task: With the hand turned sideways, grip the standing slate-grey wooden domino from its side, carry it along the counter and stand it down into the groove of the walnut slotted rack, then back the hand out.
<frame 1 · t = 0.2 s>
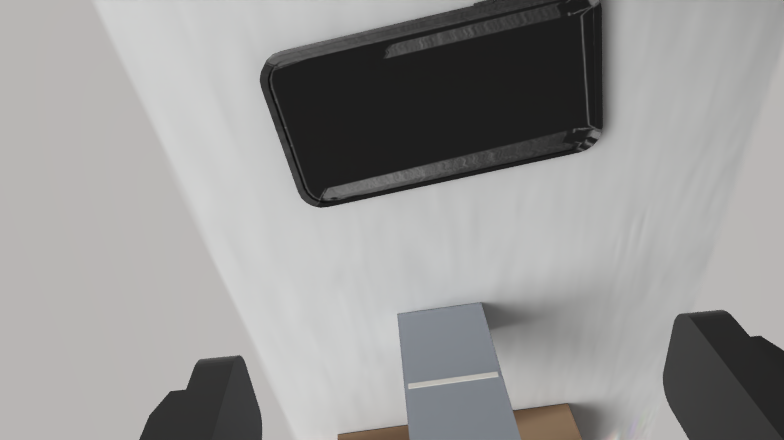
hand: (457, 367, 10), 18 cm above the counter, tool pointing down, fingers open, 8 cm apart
phone: (434, 96, 27), on the counter
domino: (440, 323, 34), on the counter
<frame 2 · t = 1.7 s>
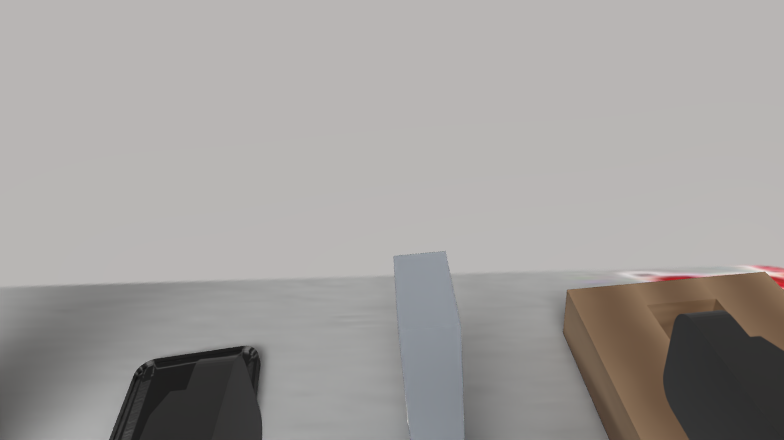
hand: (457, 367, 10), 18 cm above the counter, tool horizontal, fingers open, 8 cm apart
rack: (725, 428, 29), on the counter
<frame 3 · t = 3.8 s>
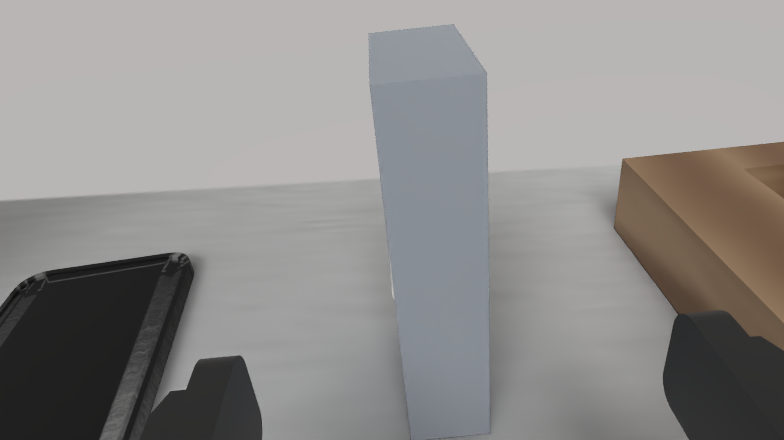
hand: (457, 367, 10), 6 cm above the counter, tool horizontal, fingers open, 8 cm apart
phone: (57, 404, 20), on the counter
domino: (440, 375, 19), on the counter
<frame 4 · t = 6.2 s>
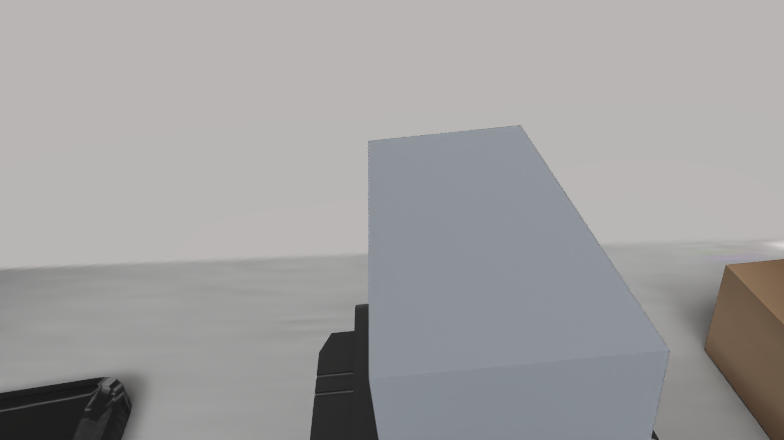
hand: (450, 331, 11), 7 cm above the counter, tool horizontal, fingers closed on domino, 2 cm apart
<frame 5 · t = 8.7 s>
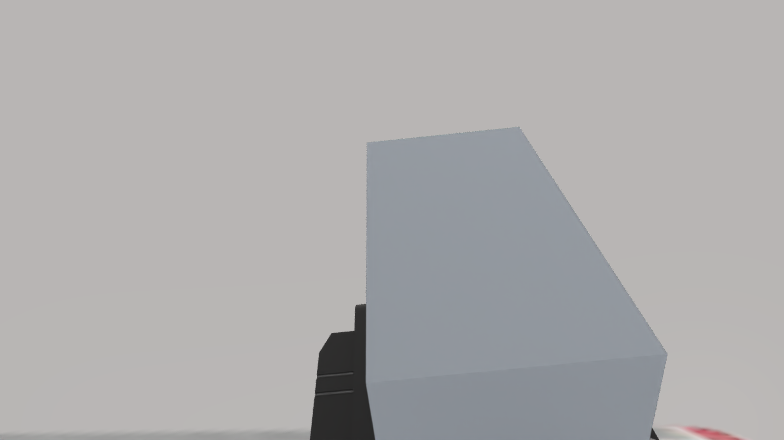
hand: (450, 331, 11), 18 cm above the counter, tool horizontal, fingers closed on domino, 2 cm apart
when the fingers open (10 cm above the counter, at t = 11.7 s): domino drops 3 cm, resting in rack.
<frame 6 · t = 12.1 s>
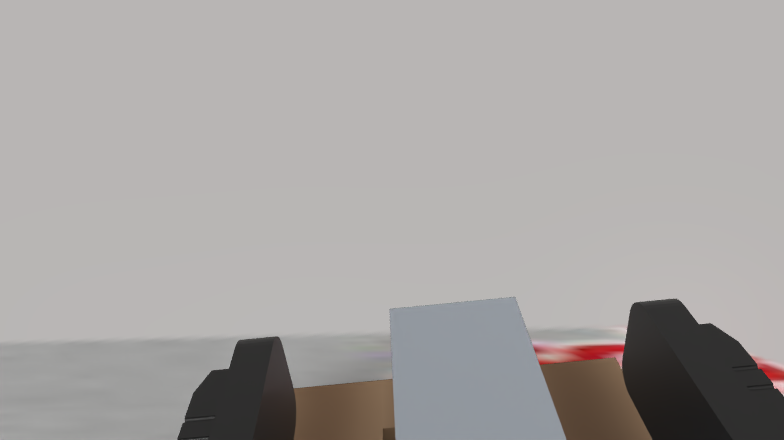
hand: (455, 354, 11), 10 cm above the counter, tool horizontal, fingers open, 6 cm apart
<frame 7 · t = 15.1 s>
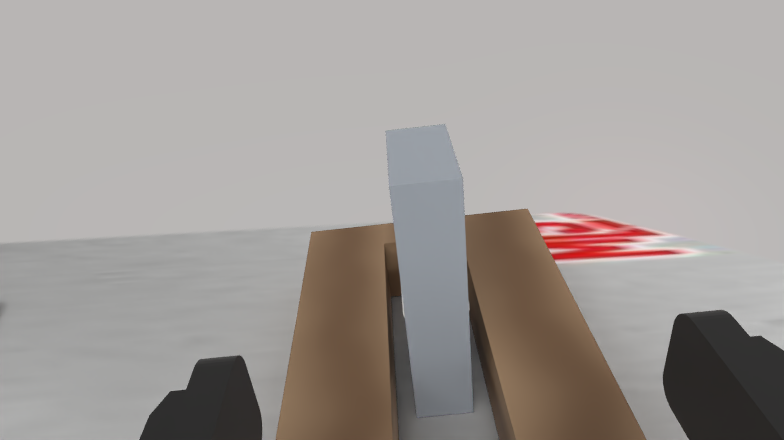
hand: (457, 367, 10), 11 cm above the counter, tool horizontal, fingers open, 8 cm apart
domino: (438, 371, 26), resting in rack
rack: (438, 372, 26), on the counter
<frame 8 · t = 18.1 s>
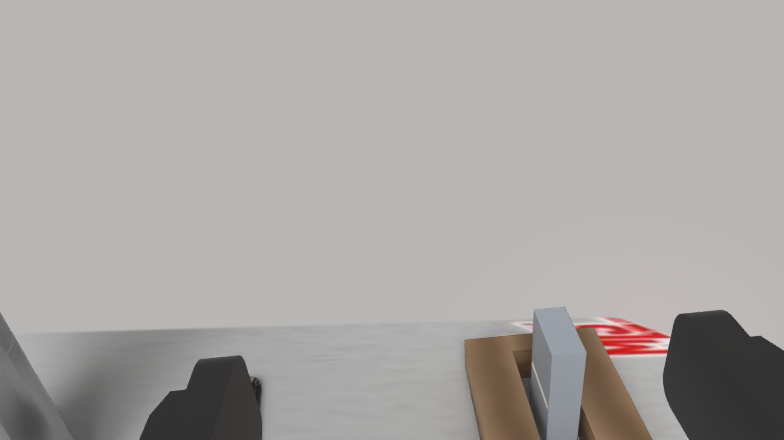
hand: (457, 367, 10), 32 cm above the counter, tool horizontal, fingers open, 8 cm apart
domino: (551, 429, 47), resting in rack
rack: (551, 430, 46), on the counter
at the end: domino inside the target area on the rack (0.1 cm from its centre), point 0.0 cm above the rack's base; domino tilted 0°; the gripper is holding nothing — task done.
